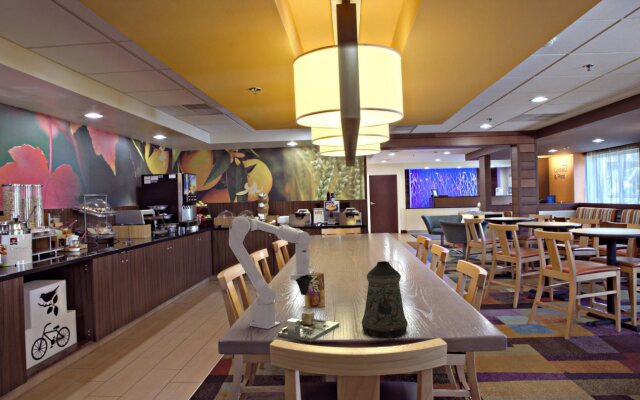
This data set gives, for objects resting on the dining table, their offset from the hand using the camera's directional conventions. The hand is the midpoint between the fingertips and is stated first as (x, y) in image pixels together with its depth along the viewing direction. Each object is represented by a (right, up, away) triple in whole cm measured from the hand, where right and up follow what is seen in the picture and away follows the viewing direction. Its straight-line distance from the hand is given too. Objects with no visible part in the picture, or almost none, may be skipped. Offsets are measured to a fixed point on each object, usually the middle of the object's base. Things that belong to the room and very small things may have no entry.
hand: (304, 294), depth 171 cm
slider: (+4, -9, -10) cm, 14 cm away
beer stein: (+30, -10, -15) cm, 35 cm away
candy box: (+4, -10, +21) cm, 24 cm away
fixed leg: (-1, -9, -18) cm, 21 cm away
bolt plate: (+3, -11, -13) cm, 17 cm away
